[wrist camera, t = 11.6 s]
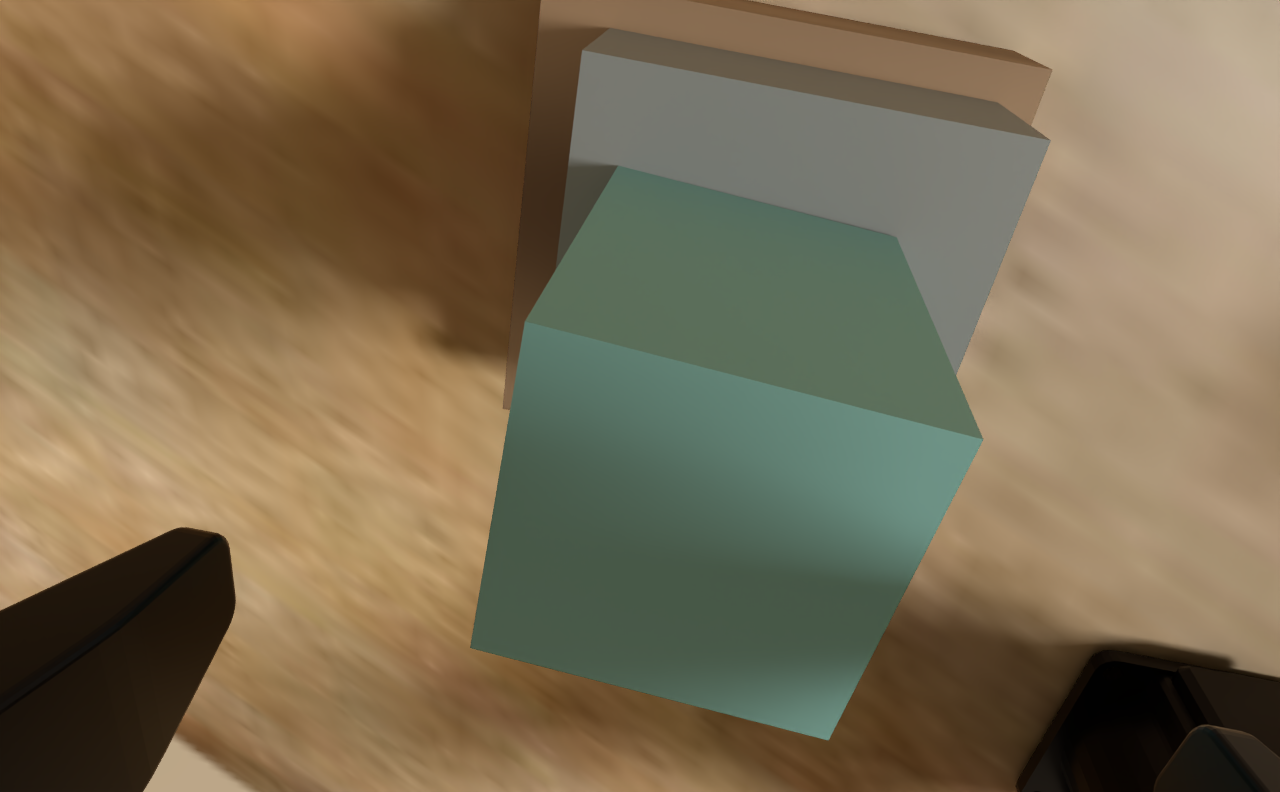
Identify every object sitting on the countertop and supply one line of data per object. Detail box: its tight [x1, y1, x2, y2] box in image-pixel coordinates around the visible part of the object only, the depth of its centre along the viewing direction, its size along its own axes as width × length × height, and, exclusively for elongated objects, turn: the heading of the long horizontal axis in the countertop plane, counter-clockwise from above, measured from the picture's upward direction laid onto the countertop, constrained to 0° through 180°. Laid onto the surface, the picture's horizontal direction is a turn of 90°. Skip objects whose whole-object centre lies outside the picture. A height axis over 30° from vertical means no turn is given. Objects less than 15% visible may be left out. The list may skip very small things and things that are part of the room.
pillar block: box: [470, 166, 983, 740], centre depth 12 cm, size 4×4×6 cm
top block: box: [556, 28, 1051, 375], centre depth 15 cm, size 7×7×3 cm
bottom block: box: [503, 0, 1052, 410], centre depth 18 cm, size 9×9×3 cm
